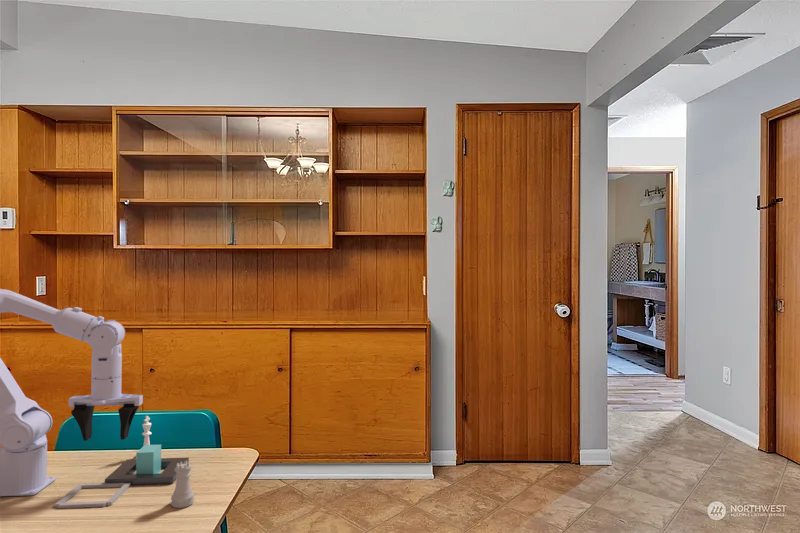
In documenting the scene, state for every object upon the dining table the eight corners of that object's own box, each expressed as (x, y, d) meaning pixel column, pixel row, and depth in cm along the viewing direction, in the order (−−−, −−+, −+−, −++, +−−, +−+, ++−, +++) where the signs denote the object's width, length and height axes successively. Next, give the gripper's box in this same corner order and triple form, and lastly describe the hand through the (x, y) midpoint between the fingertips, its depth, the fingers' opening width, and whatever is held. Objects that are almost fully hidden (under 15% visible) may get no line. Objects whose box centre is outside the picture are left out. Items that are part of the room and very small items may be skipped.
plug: (136, 479, 109) (136, 452, 109) (144, 470, 114) (144, 445, 114) (153, 479, 110) (153, 452, 110) (160, 470, 115) (161, 444, 115)
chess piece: (130, 459, 121) (131, 418, 121) (144, 451, 126) (144, 412, 126) (148, 460, 120) (149, 419, 120) (161, 453, 125) (162, 413, 125)
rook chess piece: (185, 510, 96) (186, 469, 96) (165, 507, 97) (165, 467, 97) (199, 499, 100) (199, 460, 100) (179, 497, 101) (180, 458, 101)
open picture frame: (52, 508, 96) (52, 505, 96) (79, 486, 106) (79, 483, 106) (110, 506, 97) (110, 503, 97) (131, 484, 107) (131, 481, 107)
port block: (104, 486, 106) (104, 479, 106) (127, 465, 117) (127, 459, 117) (172, 483, 108) (172, 476, 108) (188, 463, 118) (188, 457, 118)
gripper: (60, 381, 104) (60, 446, 104) (133, 380, 105) (133, 444, 105) (78, 374, 111) (78, 434, 111) (146, 373, 112) (146, 432, 112)
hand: (105, 438), depth 108 cm, fingers open, 7 cm apart
